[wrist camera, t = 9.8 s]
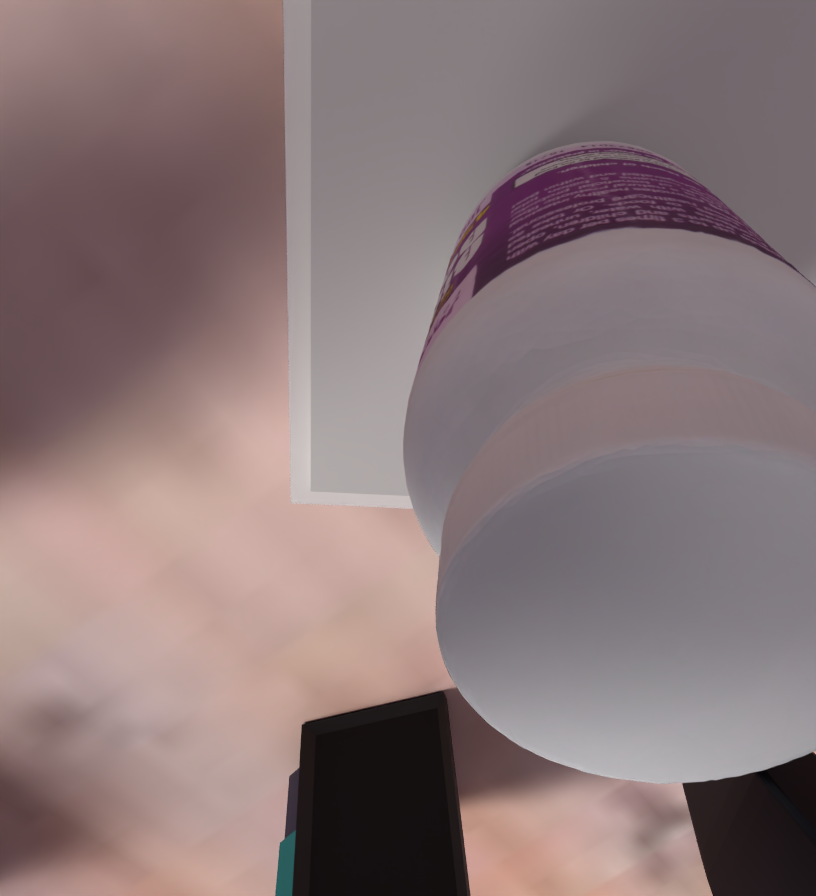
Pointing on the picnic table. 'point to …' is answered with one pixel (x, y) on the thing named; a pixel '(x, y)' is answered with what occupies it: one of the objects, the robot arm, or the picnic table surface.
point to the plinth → (497, 169)
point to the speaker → (375, 806)
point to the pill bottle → (622, 472)
